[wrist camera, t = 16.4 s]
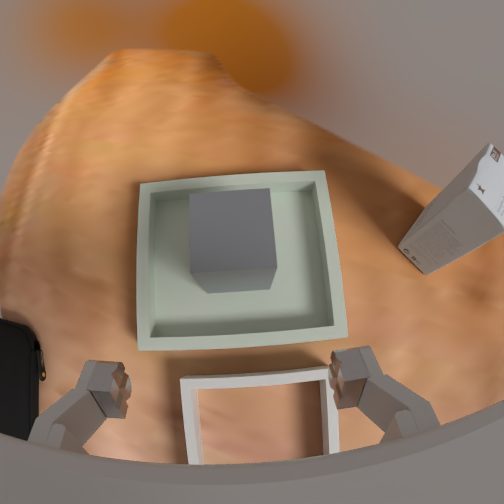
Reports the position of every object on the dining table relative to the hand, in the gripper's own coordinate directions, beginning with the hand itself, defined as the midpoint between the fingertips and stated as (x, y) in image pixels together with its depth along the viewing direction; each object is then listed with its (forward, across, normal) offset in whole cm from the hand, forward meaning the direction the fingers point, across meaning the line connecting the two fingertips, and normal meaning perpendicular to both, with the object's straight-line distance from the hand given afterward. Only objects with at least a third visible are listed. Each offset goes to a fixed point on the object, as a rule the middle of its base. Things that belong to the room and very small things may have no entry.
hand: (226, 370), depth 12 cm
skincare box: (+16, -18, +4) cm, 25 cm away
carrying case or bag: (+8, +24, +14) cm, 28 cm away
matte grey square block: (+15, 0, +4) cm, 16 cm away
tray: (+15, 0, +4) cm, 16 cm away
